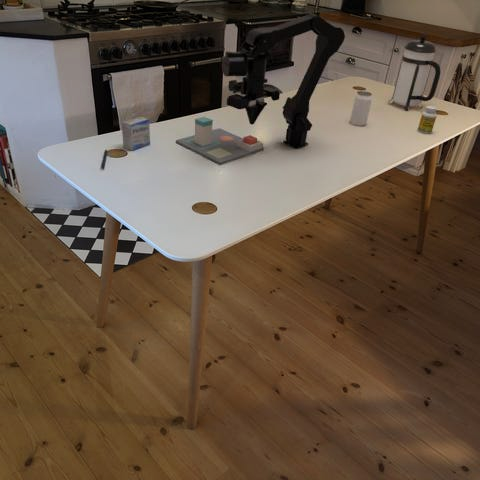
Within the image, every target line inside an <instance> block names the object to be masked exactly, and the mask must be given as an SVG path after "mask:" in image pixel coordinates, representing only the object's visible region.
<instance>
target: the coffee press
mask: <svg viewBox="0 0 480 480" xmlns="http://www.w3.org/2000/svg"><path fill="white" fill-rule="evenodd" d="M426 39H427V35H426V34H421V36H420V39H412V40H408V42H407V43H406V44H405V45H404V50H403V51H404V52H403V55H402V57H401V62H400V65H399V66H400V67H399V70H398V73H397V78H396V81H395V82H396V83H395V86H394V91H393V94H392V96H391V98H390V99H389V101H388V105H390V106H391V105H393V104H397V105H399V106H404V111H405V112H408V111H409V108H410V107H411V108H412V107H413V108H414V107H418V108H419V109H420V110H421V109H423V107H424V106H423V104H422V101H423V102H428V101H431V100H432V99H433V97H434V96H435V94H436V91H437V88H438V84H439V80H440V76H441V66H440V64H439V63H438V62H437V61H434V56H435V53H436V52H437V49H436V45H435V44H434V43H433V42H431V41H429V40H426ZM432 67H433V68H434V70H435V72H434V73H435V74H434V78H433V81H432V85H431V88H430V91H429V93H428V95H427V96H424V94H425V89H426V86H427V84H428V79H429V76H430V73H431V69H432ZM390 102H391V103H390ZM420 104H421V106H419V105H420Z"/></svg>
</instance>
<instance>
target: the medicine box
mask: <svg viewBox="0 0 480 480" xmlns="http://www.w3.org/2000/svg"><path fill="white" fill-rule="evenodd" d="M120 124H121V132H122V133H121V134H122V135H121V136H122V145H123V148H125V149H128V150H129V151H132V152H134V151H136V150H139V149H142V148H144V147H148V146H149V145H151V131H150V129H151V128H150V119H148V118H146V117H143V116H138V117H134V118H131V119H128V120H124V121H121V123H120Z"/></svg>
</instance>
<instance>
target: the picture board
mask: <svg viewBox="0 0 480 480" xmlns="http://www.w3.org/2000/svg"><path fill="white" fill-rule="evenodd" d="M175 143H176V144H178V145H180V146H181V147H184V148H185V149H188V150H190V151H191V152H194V153H196V154H198V155H200V156H202V157H203V158H205V159H208V160H210V161H211V162H214V163H216V164H218V165H220V166H221V165H224V164H227V163H230V162H233V161H236V160H239V159H242V158H245V157H247V156H248V157H249V156H251V155H253V154H257V153H259V152H262V151H264V150H265V147H264V146H263V144H264V142H262V141H260V140H258V139H257V143H254V144H251V145H249V144H247V143H245V142H243V138H242V137H240V136H238V135H237V134H234V133H231V132H230V131H227V130H225V129H223V128H221V127H219V128H215V129H212V144H208V145H205V146H201V145H199V144H197V143H195V134H194V135H190V136H186V137H184V138H180V139H176V140H175Z"/></svg>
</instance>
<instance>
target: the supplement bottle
mask: <svg viewBox="0 0 480 480" xmlns="http://www.w3.org/2000/svg"><path fill="white" fill-rule="evenodd" d="M437 109H438V108H437V107H436V106H434V105H426V106H425V111H423V112H422V113H421V117H420V121H419V124H418V127H417V132H419V133H420V134H424V135H426V134H427V135H429V134H431V133H432V132H433V128H434V125H435V123H436V119H437V117H438V115H437V113H436V112H437Z"/></svg>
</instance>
